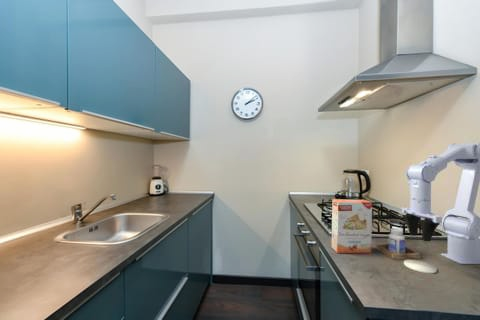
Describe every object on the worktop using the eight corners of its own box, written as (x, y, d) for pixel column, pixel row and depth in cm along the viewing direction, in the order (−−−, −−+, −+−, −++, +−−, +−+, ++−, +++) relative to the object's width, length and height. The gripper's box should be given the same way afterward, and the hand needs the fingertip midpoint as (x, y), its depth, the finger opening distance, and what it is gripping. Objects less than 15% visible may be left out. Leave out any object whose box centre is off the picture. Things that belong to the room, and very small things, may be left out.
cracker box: (337, 254, 89) (337, 201, 89) (331, 248, 95) (331, 198, 95) (372, 254, 89) (372, 201, 89) (363, 248, 95) (364, 199, 95)
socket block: (399, 248, 95) (399, 243, 95) (420, 259, 84) (420, 254, 84) (375, 248, 94) (375, 243, 94) (393, 259, 84) (393, 254, 84)
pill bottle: (402, 252, 91) (403, 228, 91) (406, 257, 86) (406, 232, 86) (387, 250, 93) (387, 226, 93) (389, 255, 88) (390, 230, 88)
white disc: (421, 261, 83) (421, 259, 83) (444, 273, 74) (444, 271, 74) (397, 261, 83) (397, 259, 83) (417, 273, 74) (417, 271, 74)
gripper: (394, 195, 85) (393, 231, 85) (427, 203, 71) (426, 245, 71) (412, 195, 86) (411, 231, 86) (448, 203, 71) (448, 245, 71)
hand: (419, 237), depth 78 cm, fingers open, 5 cm apart
